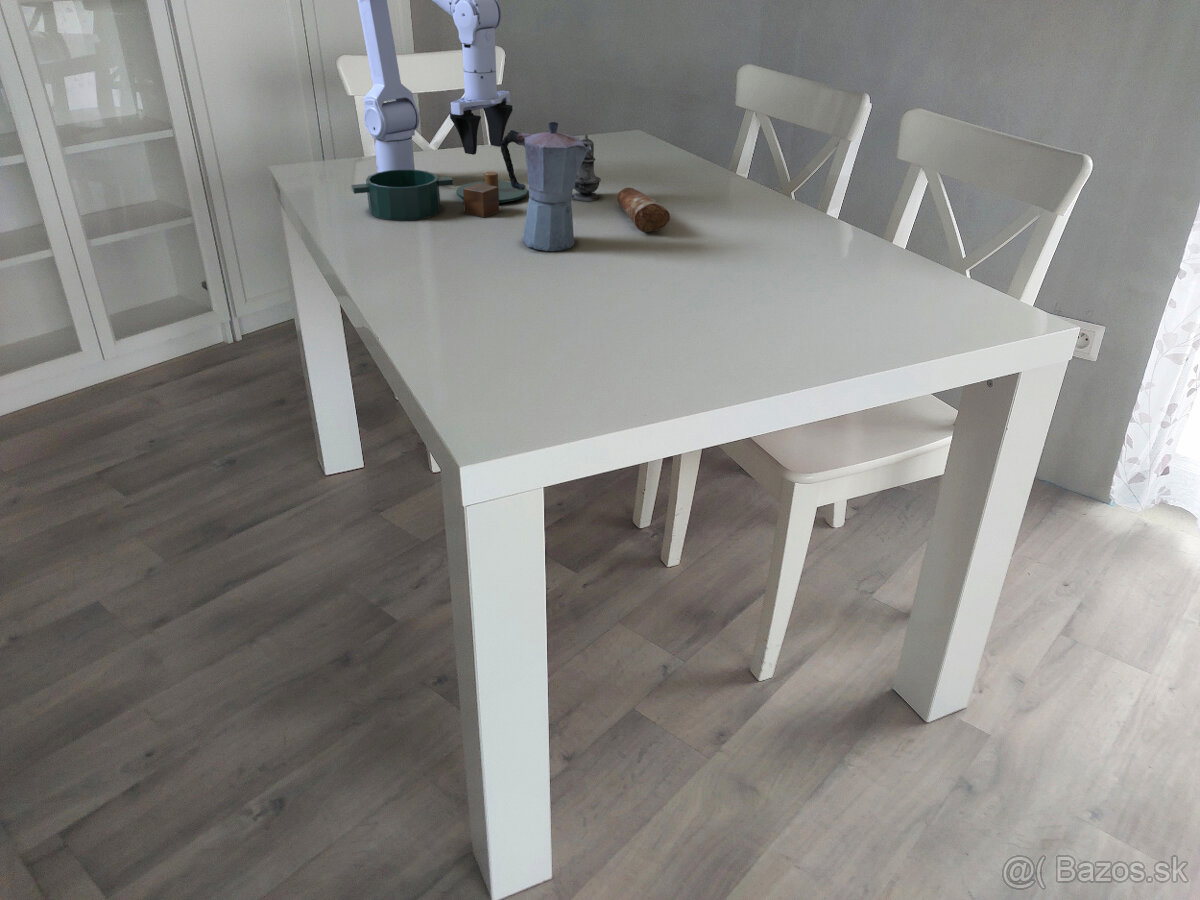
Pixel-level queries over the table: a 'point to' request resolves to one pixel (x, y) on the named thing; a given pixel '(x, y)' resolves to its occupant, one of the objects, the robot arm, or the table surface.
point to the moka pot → (548, 185)
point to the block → (481, 200)
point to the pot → (403, 194)
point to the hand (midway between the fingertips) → (483, 149)
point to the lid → (504, 188)
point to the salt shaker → (587, 177)
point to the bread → (643, 210)
